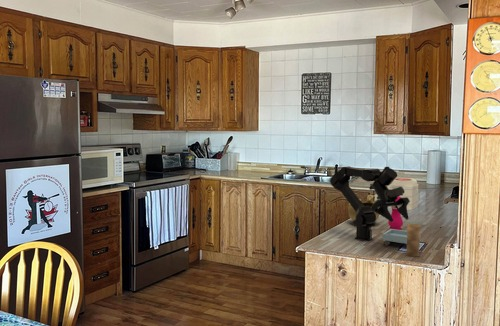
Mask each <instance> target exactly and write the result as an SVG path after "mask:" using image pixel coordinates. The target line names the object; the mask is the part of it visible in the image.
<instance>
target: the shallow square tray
mask: <svg viewBox="0 0 500 326" xmlns="http://www.w3.org/2000/svg"><path fill="white" fill-rule="evenodd" d="M421 234H422V233H421V232H420V236H421ZM381 240H382V241H384V242H383V244H384V246H387V247H388V246H389V245H390V244H391V242H393V243H394V242H395V243H400V244H405V245H406V246H405V247H406V248H407V230H395V229H390V230H389V229H388V230H387V231H385V232H384V233H382V235H381ZM420 240H421V238H420V239H419V241H420Z"/></svg>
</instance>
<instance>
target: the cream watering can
mask: <svg viewBox="0 0 500 326" xmlns="http://www.w3.org/2000/svg"><path fill="white" fill-rule="evenodd" d="M386 186H387V187H388V189H389V190H390V189H391V190H392V189H395V188H399V187H402V188H403V189H404V193H403V195H401V196H400V197H401V198H403V197H407V198H408V199H409V200H410V202H409V204H408V205H407V211H412V210H414V209H416V208H418V207H419V206H418V205H419V186H420V184H419V183H418V180H416V178H414V177H413V178H411V177H396V178H395V180H394V181H393V182H392V183H391V184H390V185H386ZM374 196H375V201H374V203H375V202H376V201H377V200H380V199H377V197H378V195H377V194H376V193H375V194H374ZM389 208H390V209H392V208H391V206H390V207H388V209H389Z"/></svg>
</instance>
